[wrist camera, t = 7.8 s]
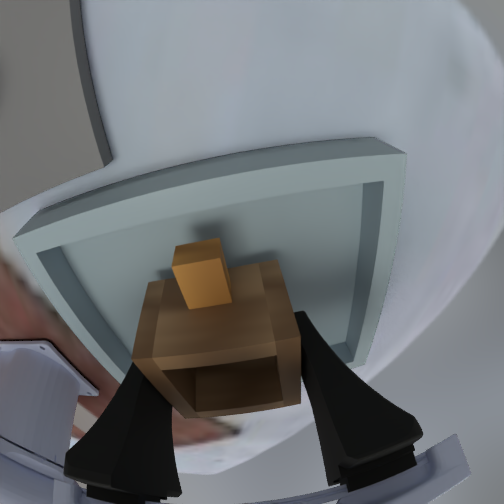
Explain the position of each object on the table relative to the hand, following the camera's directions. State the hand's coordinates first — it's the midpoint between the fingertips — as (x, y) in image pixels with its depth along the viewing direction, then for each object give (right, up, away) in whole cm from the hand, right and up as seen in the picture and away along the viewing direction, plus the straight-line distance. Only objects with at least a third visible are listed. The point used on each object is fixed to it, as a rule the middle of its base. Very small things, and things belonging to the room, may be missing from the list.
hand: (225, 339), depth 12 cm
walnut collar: (0, +2, +1) cm, 2 cm away
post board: (-11, +11, -6) cm, 17 cm away
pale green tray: (0, +2, +2) cm, 3 cm away
